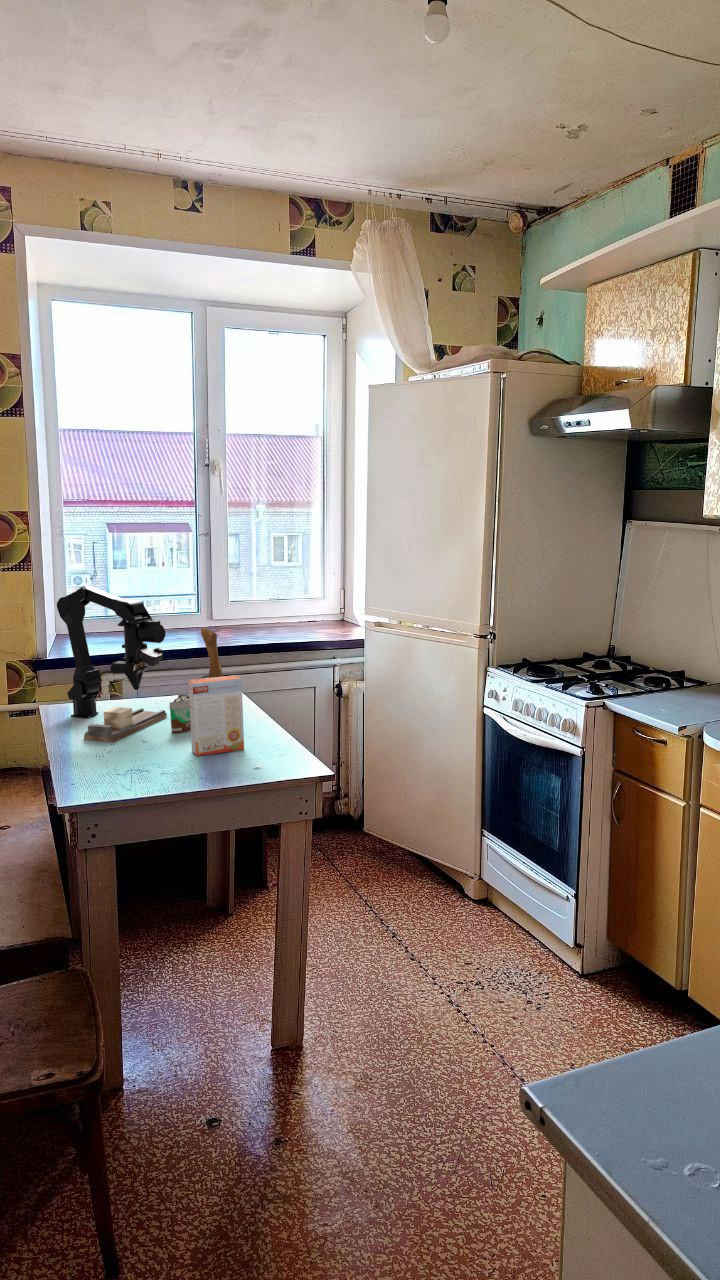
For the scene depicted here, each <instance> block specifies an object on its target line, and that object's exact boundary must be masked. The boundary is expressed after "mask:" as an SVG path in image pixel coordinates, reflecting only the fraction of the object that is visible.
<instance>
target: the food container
mask: <svg viewBox="0 0 720 1280" xmlns="http://www.w3.org/2000/svg"><path fill="white" fill-rule="evenodd" d="M169 714H170V727H171V734H173V735H174V734H183V733H188V732H191V723H190V704H189V693H177V697H176V698H175V699H173V701H170V702H169Z"/></svg>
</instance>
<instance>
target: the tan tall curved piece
mask: <svg viewBox="0 0 720 1280" xmlns="http://www.w3.org/2000/svg"><path fill="white" fill-rule="evenodd" d="M200 635H201V637H202V639H203V641H204V644H205V648H206V650H207V653H208V659H209V670H208V677H207V678H213V677H223V676H224V675H223V670H222V666H221V662H220V658H219V650H218V635H217V633H216V632H214V631H213V630H212V629H208V628H206V627H204V626H202V628H201V629H200Z"/></svg>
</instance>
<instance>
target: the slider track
mask: <svg viewBox="0 0 720 1280" xmlns="http://www.w3.org/2000/svg"><path fill="white" fill-rule="evenodd" d="M167 714H168V713H167V712H166V710H165V709H162V710H159V711H152V710H151V711H150V710H149V711H147V710H145V709H144V708H142V707H141V708H138V709H136V710H134V711H132V719H133V724H131V725H128V726H126V727H124V728H122V729H114V728H112V726H111V725H104V723H103V724H100V723H99V724H97V723H90V724H88V725H87V731H85V732H84V735H83V741H93V742H103V743H110V744H111V743H116V742H117V741H120V740H122V739H124V738H126V737H129V736H130V735H132V734H134V733H137V732H138V731H141V730H143V729H145V728H147V727H150V726H151V725H153V724H155V723H158V722H159V721H162V720H164V719H166V718H167V717H168V716H167Z"/></svg>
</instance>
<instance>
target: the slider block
mask: <svg viewBox="0 0 720 1280" xmlns="http://www.w3.org/2000/svg"><path fill="white" fill-rule="evenodd" d="M132 712H133V708H132V707H123V706H121V707H119V706H114V707H111V708H109V709H107V710H104V711H103V724H104V725H111V726H112V728H114V729H122V728H124V727H126V726H128V725H131V724H133V719H132Z"/></svg>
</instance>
